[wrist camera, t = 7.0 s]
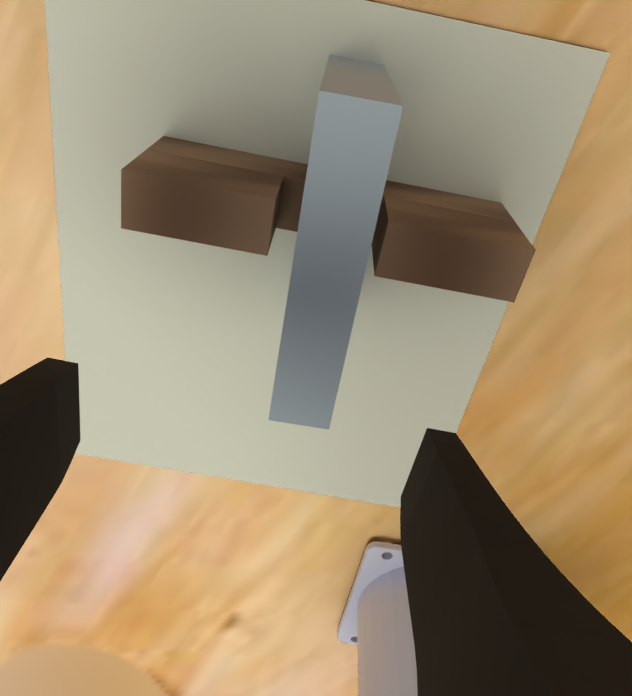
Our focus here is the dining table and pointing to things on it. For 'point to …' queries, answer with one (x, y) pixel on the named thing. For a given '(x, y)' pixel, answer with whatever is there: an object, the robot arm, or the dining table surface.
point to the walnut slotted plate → (285, 206)
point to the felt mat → (275, 269)
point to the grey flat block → (334, 236)
